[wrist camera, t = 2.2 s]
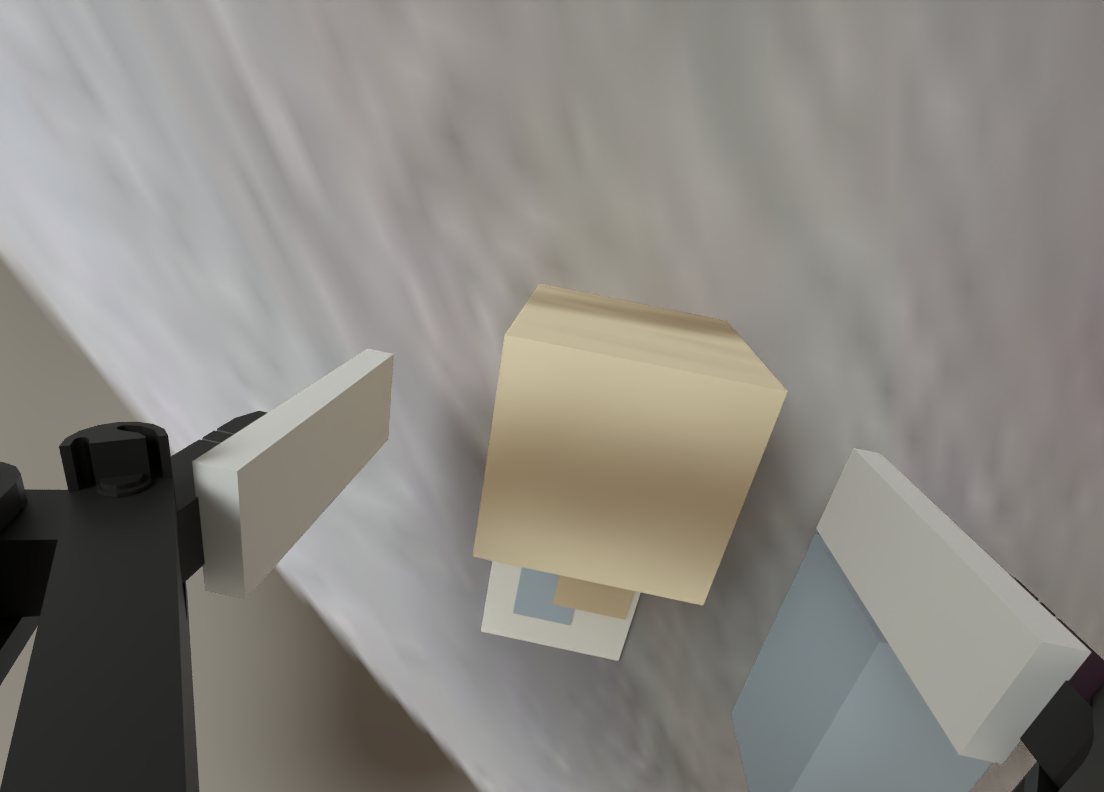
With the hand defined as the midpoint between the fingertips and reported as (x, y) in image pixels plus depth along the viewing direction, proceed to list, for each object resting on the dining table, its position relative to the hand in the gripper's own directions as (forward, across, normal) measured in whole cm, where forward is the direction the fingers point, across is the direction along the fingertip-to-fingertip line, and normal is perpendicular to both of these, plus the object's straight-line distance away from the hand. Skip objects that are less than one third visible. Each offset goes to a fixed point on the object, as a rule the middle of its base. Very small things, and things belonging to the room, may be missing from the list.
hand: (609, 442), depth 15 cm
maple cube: (+3, 0, 0) cm, 3 cm away
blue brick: (+4, +11, -8) cm, 14 cm away
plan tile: (+3, 0, -8) cm, 8 cm away
